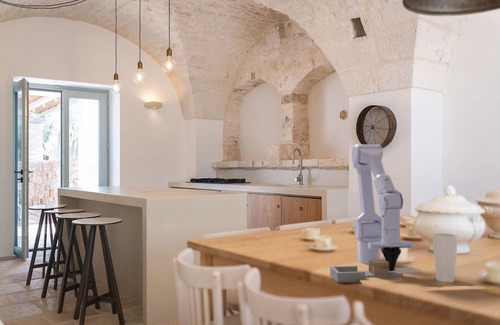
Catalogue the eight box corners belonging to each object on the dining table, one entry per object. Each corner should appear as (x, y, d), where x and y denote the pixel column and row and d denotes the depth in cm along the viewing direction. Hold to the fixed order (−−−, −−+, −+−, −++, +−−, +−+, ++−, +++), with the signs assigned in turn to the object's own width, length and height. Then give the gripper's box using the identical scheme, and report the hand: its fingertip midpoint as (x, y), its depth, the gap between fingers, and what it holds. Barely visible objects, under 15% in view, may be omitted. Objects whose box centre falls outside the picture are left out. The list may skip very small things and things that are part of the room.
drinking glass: (450, 280, 151) (450, 233, 151) (461, 285, 144) (460, 236, 144) (429, 280, 151) (429, 233, 151) (439, 286, 144) (438, 237, 144)
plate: (393, 270, 164) (393, 267, 164) (412, 270, 164) (412, 267, 164) (401, 275, 157) (401, 272, 157) (421, 275, 157) (421, 272, 157)
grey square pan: (330, 275, 158) (330, 266, 158) (394, 273, 160) (394, 264, 160) (337, 282, 149) (337, 273, 149) (405, 280, 151) (404, 270, 151)
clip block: (368, 271, 157) (368, 259, 157) (383, 270, 158) (383, 258, 158) (373, 275, 152) (373, 262, 152) (389, 274, 153) (389, 262, 153)
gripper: (373, 231, 151) (373, 273, 151) (417, 230, 152) (417, 272, 152) (366, 228, 158) (366, 268, 158) (408, 227, 159) (408, 267, 159)
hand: (390, 270), depth 155 cm, fingers closed
